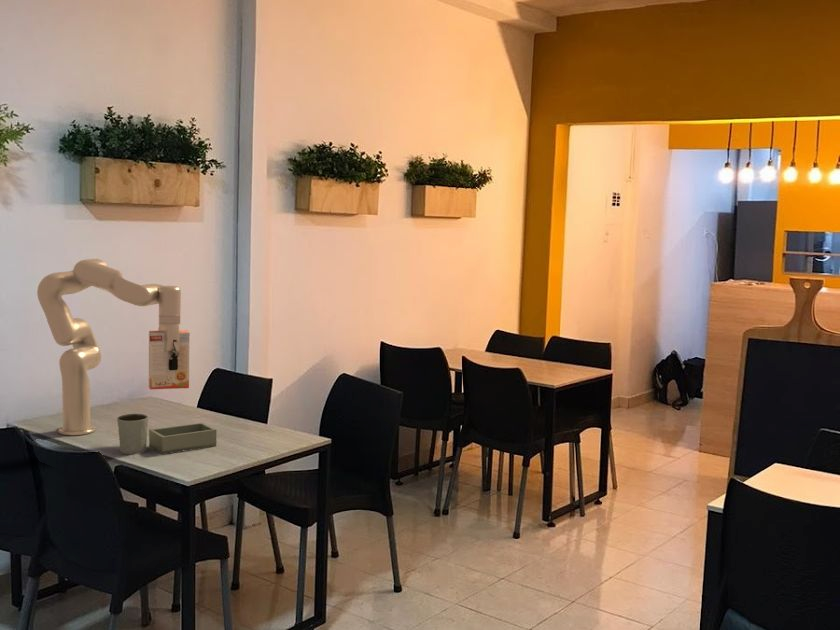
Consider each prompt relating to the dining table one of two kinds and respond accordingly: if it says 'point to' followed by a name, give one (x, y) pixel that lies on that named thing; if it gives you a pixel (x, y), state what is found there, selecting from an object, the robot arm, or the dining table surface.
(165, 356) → the cracker box
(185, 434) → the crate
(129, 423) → the grey-green cup
